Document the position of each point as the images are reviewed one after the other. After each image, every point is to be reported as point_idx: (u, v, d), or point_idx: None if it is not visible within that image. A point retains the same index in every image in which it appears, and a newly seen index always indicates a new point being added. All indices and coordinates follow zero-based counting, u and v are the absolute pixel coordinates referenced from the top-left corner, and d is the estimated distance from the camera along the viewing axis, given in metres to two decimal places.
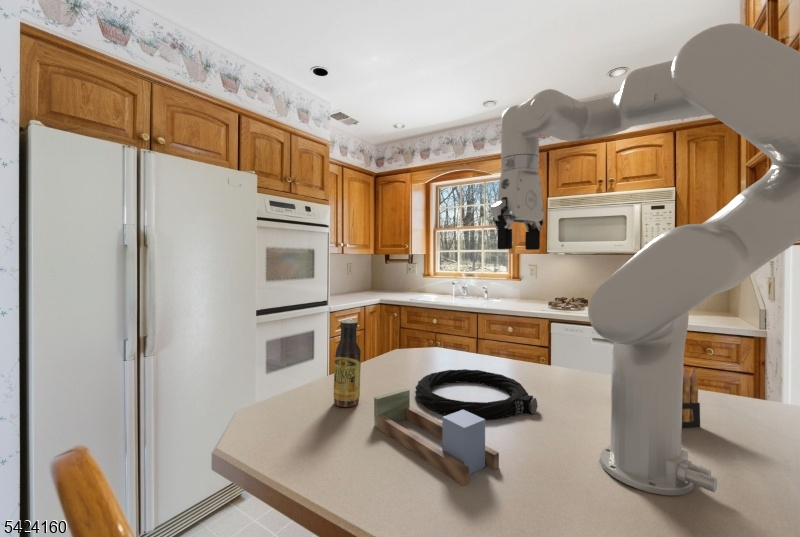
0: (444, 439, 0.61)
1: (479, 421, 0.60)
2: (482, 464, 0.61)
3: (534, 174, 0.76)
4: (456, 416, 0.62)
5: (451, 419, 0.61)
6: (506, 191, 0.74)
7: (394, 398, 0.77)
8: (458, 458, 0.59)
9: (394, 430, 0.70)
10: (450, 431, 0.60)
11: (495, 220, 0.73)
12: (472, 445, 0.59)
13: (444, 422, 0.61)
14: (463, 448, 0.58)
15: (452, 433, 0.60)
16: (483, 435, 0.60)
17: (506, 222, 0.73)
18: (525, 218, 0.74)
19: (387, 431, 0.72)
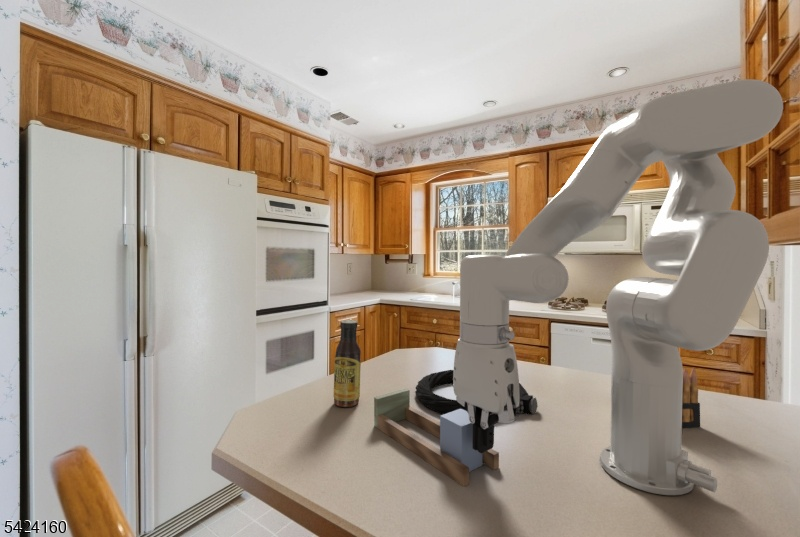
0: (442, 437, 0.62)
1: None
2: (479, 462, 0.61)
3: None
4: (454, 415, 0.62)
5: (449, 418, 0.61)
6: (512, 375, 0.54)
7: (394, 398, 0.77)
8: (456, 457, 0.59)
9: (394, 430, 0.70)
10: (448, 430, 0.61)
11: None
12: (470, 444, 0.59)
13: (442, 421, 0.62)
14: (460, 446, 0.58)
15: (450, 432, 0.60)
16: None
17: None
18: None
19: (387, 431, 0.72)
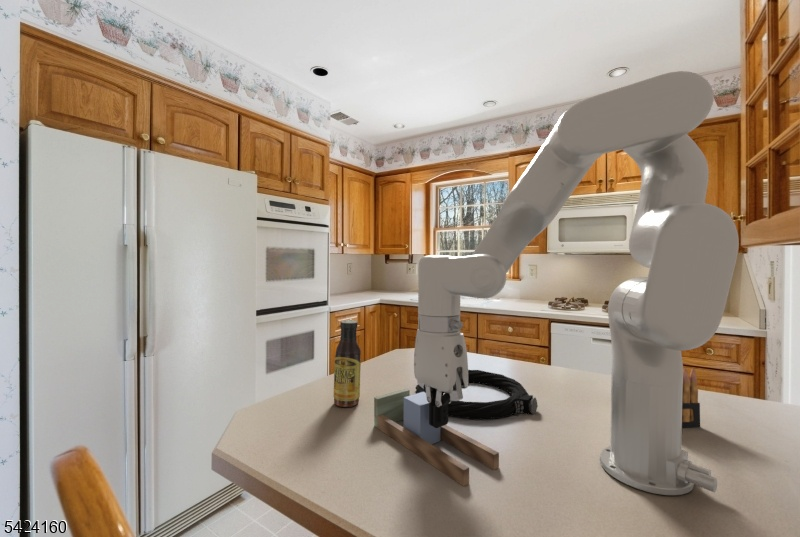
0: (405, 416, 0.70)
1: None
2: (437, 438, 0.69)
3: None
4: (416, 397, 0.70)
5: (410, 399, 0.69)
6: (460, 360, 0.62)
7: (394, 398, 0.77)
8: (416, 433, 0.68)
9: (394, 430, 0.70)
10: (409, 409, 0.69)
11: None
12: (428, 421, 0.68)
13: (405, 402, 0.70)
14: (419, 423, 0.67)
15: (411, 411, 0.69)
16: None
17: (450, 400, 0.65)
18: None
19: (387, 431, 0.72)
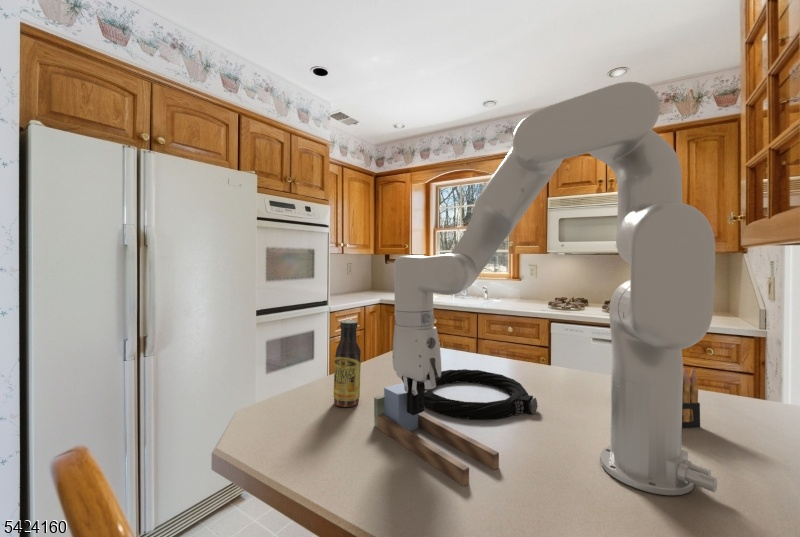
0: (385, 405, 0.75)
1: None
2: (415, 425, 0.75)
3: None
4: (395, 387, 0.76)
5: (390, 389, 0.75)
6: (433, 351, 0.67)
7: None
8: (395, 420, 0.73)
9: (394, 430, 0.70)
10: (389, 399, 0.74)
11: None
12: (406, 409, 0.73)
13: (385, 392, 0.75)
14: (398, 411, 0.72)
15: (390, 400, 0.74)
16: None
17: (425, 389, 0.71)
18: None
19: (387, 431, 0.72)
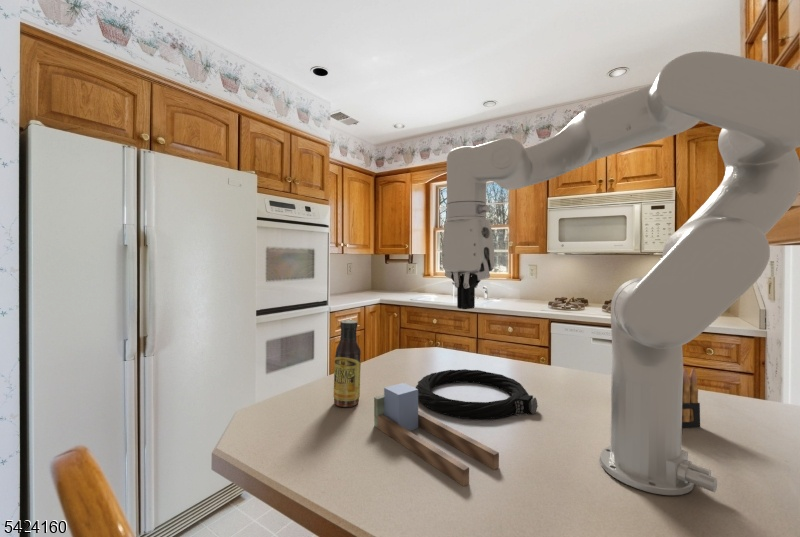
0: (385, 405, 0.75)
1: (412, 390, 0.74)
2: (415, 425, 0.75)
3: None
4: (395, 387, 0.76)
5: (390, 389, 0.75)
6: (487, 241, 0.67)
7: None
8: (395, 420, 0.73)
9: (394, 430, 0.70)
10: (389, 399, 0.74)
11: None
12: (406, 409, 0.73)
13: (385, 392, 0.75)
14: (398, 411, 0.72)
15: (390, 400, 0.74)
16: (416, 402, 0.75)
17: (477, 284, 0.70)
18: None
19: (387, 431, 0.72)
